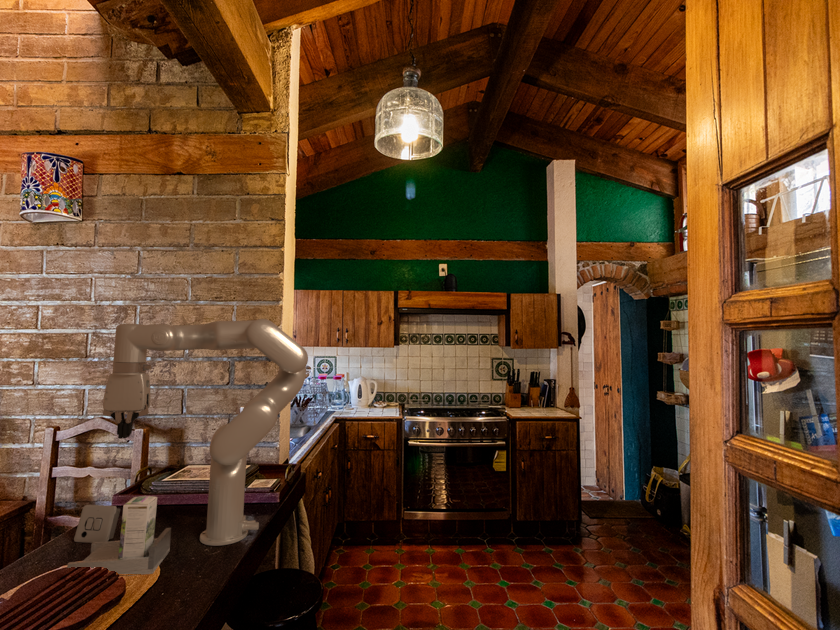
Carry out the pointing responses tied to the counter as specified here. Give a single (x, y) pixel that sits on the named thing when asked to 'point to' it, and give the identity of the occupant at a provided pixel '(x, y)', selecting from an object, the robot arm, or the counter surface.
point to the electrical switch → (97, 523)
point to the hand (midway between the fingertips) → (124, 437)
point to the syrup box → (137, 527)
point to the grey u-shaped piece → (108, 558)
